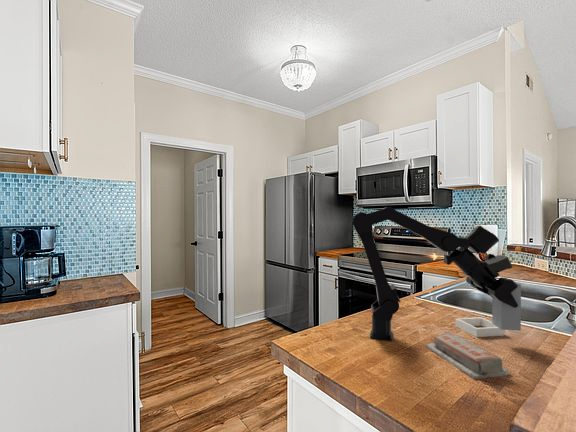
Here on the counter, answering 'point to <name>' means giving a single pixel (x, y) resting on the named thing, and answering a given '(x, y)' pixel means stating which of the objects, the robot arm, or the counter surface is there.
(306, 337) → the counter surface
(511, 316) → the slate block
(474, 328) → the tray
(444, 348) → the packaged product
